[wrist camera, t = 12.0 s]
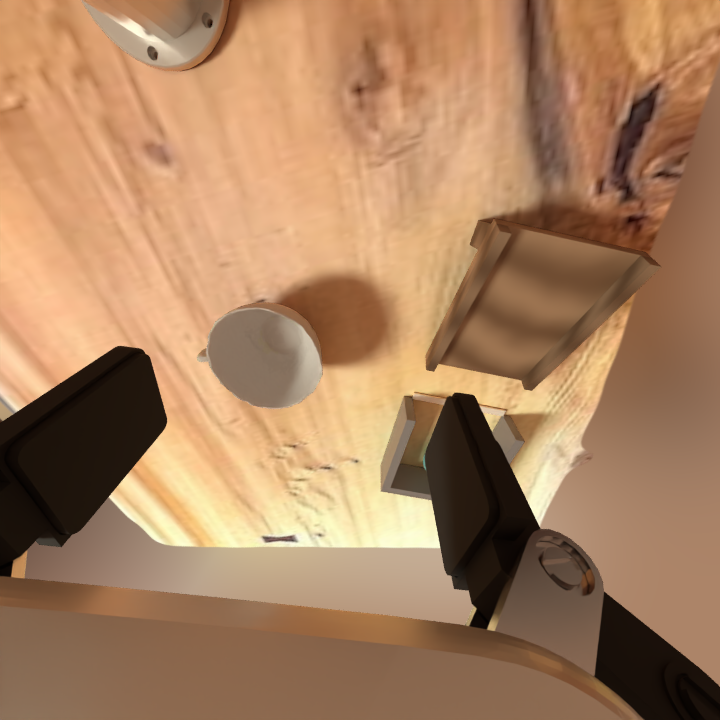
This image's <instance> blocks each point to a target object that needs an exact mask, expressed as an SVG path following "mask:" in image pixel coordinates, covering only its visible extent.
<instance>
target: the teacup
mask: <svg viewBox="0 0 720 720" xmlns="http://www.w3.org/2000/svg"><path fill="white" fill-rule="evenodd" d="M197 360H198V361H199V362H209V366H210V368H211V370H212V372H213V373H214V375H215V376H216V377H217V378H218V379H219V381H220V383H221V384H222V385H224V386H225V387H226V388H227V389H228V390H229V391H231V392H232V393H233V395H234V396H235V397H237V398H238V399H240V400H242V401H246V402H248V403H249V404H250V405H253V406H257V407H261V408H269V409H282V408H287V407H291V406H293V405H295V404H299V403H300V402H302V401H303V400H304V399H305V398H306V397H307V396H309V395H310V394H311V393H313V392H314V390H315V389H316V386H317V384H318V383H319V381H320V379H321V377H322V352H321V346H320V342H319V339H318V337H317V335H316V332H315V331H314V329H313V327H312V326H311V325H310V323H309V322H308V321H307V320H306V319H305V318H304V317H303V316H302V315H300V314H299V313H298V312H296V311H295V310H293V309H291V308H289V307H286V306H284V305H280V304H276V303H266V302H263V303H252V304H248V305H244V306H241V307H239V308H236V309H234V310H232V311H230V312H228V313H227V314H225V315H224V316H222V317H221V318H220V319H218V320H217V321H216V322H215V324H214V326H213V328H212V329H211V331H210V333H209V335H208V344H207V348H206V349H204V350H202V351H201V352H200V353H199V354H198V356H197Z"/></svg>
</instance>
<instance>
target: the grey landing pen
mask: <svg viewBox="0 0 720 720" xmlns="http://www.w3.org/2000/svg"><path fill="white" fill-rule="evenodd" d="M412 399H415V400H420V401H425V402H431V403H436V404H441V405H444V403H445V401H446V398H441V397H436V396H431V395H426V394H420V393H415V392H414V394H413V397H412V398H411V397H406V396H404V398H403V401H402V404H401V407H400V410H399V413H398V416H397V419H396V422H395V424H394V427H393V430H392V433H391V436H390V439H389V442H388V445H387V448H386V451H385V454H384V457H383V460H382V463H381V491H382V492H388V493H393V494H399V495H405V496H410V497H416V498H422V499H428V500H432V499H431V493H430V488H429V483H428V477H427V472H426V470H425V468H421V467H416V466H410V465H405V464H400V461H401V459H402V456H403V453H404V451H405V448H406V446H407V443H408V440H409V438H410V435H411V433H412V430H413V427H414V425H415V422H416V419H415V413H414V406H413V400H412ZM479 406H480V408H481V410H482V412H483V413H488V414H493V415H499V416H501V418H500V420H499V422H498V423H497V425H496V427H495V429H494V430H493V432H492V434H493V436H494V438H495V440H496V441H498V443H499V444H500V446H501V448H502V450H503V452H504V454H505V456H506V458H507V460H508V462H509V464H510V463H511V462H512V460H513V459H514V457H515V456H516V454H517V453H518V451H519V450H520V448H521V447H522V445H523V444H524V442H525V441H524V440H523V438H522V436H521V434H520V433H519V431H518V429H517V427H516V426H515V424H514V422H513V421H512V419H511V417H510V416H505V415H504V414H505V412H506V410H504V409H498V408H493V407H488V406H483V405H479Z"/></svg>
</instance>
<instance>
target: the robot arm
mask: <svg viewBox="0 0 720 720" xmlns="http://www.w3.org/2000/svg"><path fill="white" fill-rule="evenodd" d="M229 1H230V0H81V2H82V3H83V5H84V6H85V8H86V9H87V11H88V12H89V14H90V15H91V17H92V18H93V20H94V21H95V22H96V24H97V25H98V26H99V27H100V28H101V30H102V31H103V32H104V33H105V34H106V35H107V37H108V38H109V39H111V40H112V41H113V42H114V43H115V44H116V45H117V46H118V47H119V48H120V49H122V50H123V51H124V52H126V53H127V54H129V55H130V56H132V57H133V58H135V59H137V60H138V61H140V62H142V63H144V64H146V65H148V66H150V67H153V68H157V69H160V70H164V71H181V70H186V69H190V68H192V67H194V66H195V65H197V64H199V63H201V62H202V61H203V60H204V59H205V58H206V57H207V56H208V55H209V54H210V53H211V52H212V51H213V49H214V47H215V46H216V44H217V42H218V41H219V39H220V37H221V34H222V31H223V28H224V26H225V23H226V18H227V13H228V8H229ZM211 22H213V25H212V27H211V28H210V23H211ZM157 55H158V58H157ZM166 424H167V417H166V413H165V410H164V406H163V402H162V399H161V395H160V392H159V388H158V384H157V381H156V377H155V374H154V370H153V366H152V363H151V359H150V357H149V356H148V355H147V354H145V352H144V351H143V350H142V349H139V348H132V347H125V346H117V347H115V348H113V349H112V350H110V351H109V352H107V353H106V354H104V355H103V356H101V357H100V358H98V359H97V360H95V361H94V362H92V363H91V364H89V365H88V366H86V367H85V368H83V369H82V370H80V371H79V372H77V373H75V374H74V375H72V376H71V377H69V378H68V379H66V380H65V381H63V382H62V383H60V384H59V385H57V386H56V387H54V388H53V389H51V390H50V391H48V392H47V393H45V394H44V395H42V396H40V397H39V398H37V399H36V400H34V401H33V402H31V403H30V404H28V405H27V406H25V407H24V408H22V409H21V410H19V411H18V412H16V413H15V414H13V415H12V416H10V417H9V418H7V419H6V420H4V421H2V422H1V423H0V720H720V687H719V686H718V684H716V683H715V682H714V681H713V680H712V679H711V678H710V677H709V676H708V675H707V674H706V673H704V672H703V671H702V670H701V669H700V668H699V667H698V666H696V665H695V664H694V663H693V662H691V661H690V660H689V659H688V658H686V657H685V656H684V655H683V654H681V653H680V652H679V651H678V650H676V649H675V648H674V647H673V646H671V645H670V644H669V643H668V642H666V641H665V640H664V639H663V638H661V637H660V636H659V635H658V634H656V633H655V632H654V631H653V630H651V629H650V628H649V627H648V626H646V625H645V624H644V623H643V622H641V621H640V620H639V619H638V618H636V617H635V616H634V615H633V614H631V613H630V612H629V611H628V610H626V609H625V608H624V607H623V606H622V605H620V604H619V603H618V602H616V601H615V600H614V599H613V598H612V597H610V596H609V595H607V593H605V592H604V588H603V581H602V578H601V576H600V573H599V571H598V569H597V567H596V566H595V564H594V563H593V561H592V560H591V558H590V557H589V556H588V555H587V554H586V552H585V551H584V550H583V549H582V548H581V547H580V546H579V545H577V544H576V543H575V542H574V541H572V540H571V539H570V538H568V537H566V536H564V535H563V534H561V533H559V532H556V531H553V530H550V529H540V527H539V525H538V523H537V521H536V519H535V516H534V514H533V512H532V510H531V508H530V506H529V504H528V502H527V500H526V498H525V496H524V494H523V492H522V489H521V487H520V485H519V483H518V481H517V479H516V477H515V475H514V473H513V471H512V469H511V467H510V464H509V462H508V460H507V458H506V456H505V454H504V452H503V450H502V448H501V446H500V444H499V443H498V441H496V440H495V438H494V436H493V434H492V431H491V429H490V427H489V425H488V423H487V421H486V419H485V417H484V414H483V412H482V410H481V408H480V406H479V404H478V402H477V400H476V398H475V396H474V395H470V394H463V393H454V394H453V396H448V397H447V399H446V401H445V403H444V406H443V409H442V411H441V414H440V416H439V419H438V421H437V424H436V427H435V429H434V432H433V434H432V437H431V439H430V442H429V444H428V447H427V450H426V453H425V467H426V472H427V477H428V483H429V488H430V493H431V499H432V504H433V510H434V515H435V520H436V526H437V531H438V537H439V542H440V547H441V553H442V558H443V563H444V568H445V571H446V573H447V575H451V576H452V581H453V586H454V589H459V590H469V593H470V598H471V602H472V604H473V605H474V607H473V609H472V611H471V613H470V616H469V618H468V620H467V622H466V624H465V625H459V624H451V623H443V622H436V621H428V620H420V619H412V618H404V617H396V616H388V615H379V614H369V613H361V612H351V611H342V610H332V609H323V608H313V607H304V606H294V605H285V604H276V603H266V602H257V601H246V600H236V599H227V598H217V597H208V596H198V595H187V594H178V593H167V592H158V591H148V590H137V589H128V588H118V587H107V586H97V585H86V584H76V583H66V582H55V581H45V580H35V579H25V578H24V577H25V567H26V556H27V549H28V548H29V547H30V546H31V545H32V544H33V543H34V542H35V541H36V542H37V543H38V544H39V545H47V546H56V547H57V546H58V547H62V546H63V545H64V543H65V542H66V541H67V540H68V539H69V538H70V536H71V535H72V534H75V533H77V532H79V531H80V530H81V529H82V528H83V527H84V526H85V525H86V523H87V522H88V521H89V520H90V518H91V517H92V516H93V515H94V514H95V512H96V511H97V510H98V509H99V508H100V506H101V505H102V504H103V503H104V502H105V500H106V499H107V498H108V497H109V496H110V494H111V493H112V492H113V491H114V490H115V488H116V487H117V486H118V485H119V484H120V482H121V481H122V480H123V479H124V478H125V476H126V475H127V474H128V473H129V471H130V470H131V469H132V468H133V467H134V465H135V464H136V463H137V462H138V461H139V459H140V458H141V457H142V456H143V455H144V453H145V452H146V451H147V450H148V449H149V447H150V446H151V445H152V444H153V442H154V441H155V440H156V439H157V438H158V436H159V435H160V434H161V433H162V432H163V430H164V429H165V427H166Z"/></svg>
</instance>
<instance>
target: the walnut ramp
mask: <svg viewBox="0 0 720 720" xmlns="http://www.w3.org/2000/svg"><path fill="white" fill-rule="evenodd" d="M470 245H471V246H473V247H475V248H476V249H478V251H477V253H476V255H475V257H474V259H473V261H472V263H471V265H470V267H469V269H468V271H467V273H466V275H465V277H464V279H463V281H462V283H461V285H460V287H459V290H458V292H457V294H456V296H455V298H454V300H453V302H452V304H451V306H450V308H449V310H448V312H447V314H446V316H445V318H444V320H443V322H442V324H441V326H440V328H439V330H438V332H437V334H436V336H435V338H434V340H433V342H432V344H431V346H430V348H429V350H428V352H427V354H426V370H429V371H435V369H436V367H437V365H438V364H442V365H447V366H452V367H457V368H463V369H468V370H473V371H478V372H483V373H488V374H493V375H498V376H503V377H508V378H513V379H518V380H521V381H522V384H523V387H524V389H525V390H531V391H532V390H533V389H534V388H535V387H536V386H537V385H538V384H539V383H540V382H541V381H543V380H544V379H545V378H546V377H547V376H548V375H549V374H550V373H551V372H552V371H553V370H554V369H555V368H556V367H557V366H558V365H559V364H560V363H561V362H562V361H564V360H565V359H566V358H567V357H568V356H569V355H570V354H571V353H572V352H573V351H574V350H575V349H576V348H577V347H578V346H579V345H580V344H581V343H582V342H583V341H585V340H586V339H587V338H588V337H589V336H590V335H591V334H592V333H593V332H594V331H595V330H596V329H597V328H598V327H599V326H600V325H601V324H602V323H603V322H604V321H605V320H607V319H608V318H609V317H610V316H611V315H612V314H613V313H614V312H615V311H616V310H617V309H618V308H619V307H620V306H621V305H622V304H623V303H624V302H625V301H626V300H628V299H629V298H630V297H631V296H632V295H633V294H634V293H635V292H636V291H637V290H638V289H639V288H640V287H641V286H642V285H643V284H644V283H645V282H646V281H647V280H648V279H649V278H651V277H652V276H653V275H654V274H655V273H656V272H657V271H658V270H659V269H660V268H661V266H660V265H659V264H658V263H657V262H656V261H655V260H653V259H652V258H651V257H650V256H649V255H648V254H647V253H646V252H643V251H638V250H634V249H629V248H625V247H620V246H616V245H611V244H607V243H602V242H598V241H593V240H589V239H584V238H580V237H575V236H571V235H566V234H562V233H557V232H553V231H548V230H544V229H539V228H535V227H530V226H526V225H521V224H517V223H512V222H508V221H503V220H499V219H495V218H494V219H493V221H492V223H488V222H483V221H479V220H478V223H477V226H476V228H475V231H474V234H473V237H472V239H471V242H470Z"/></svg>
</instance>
